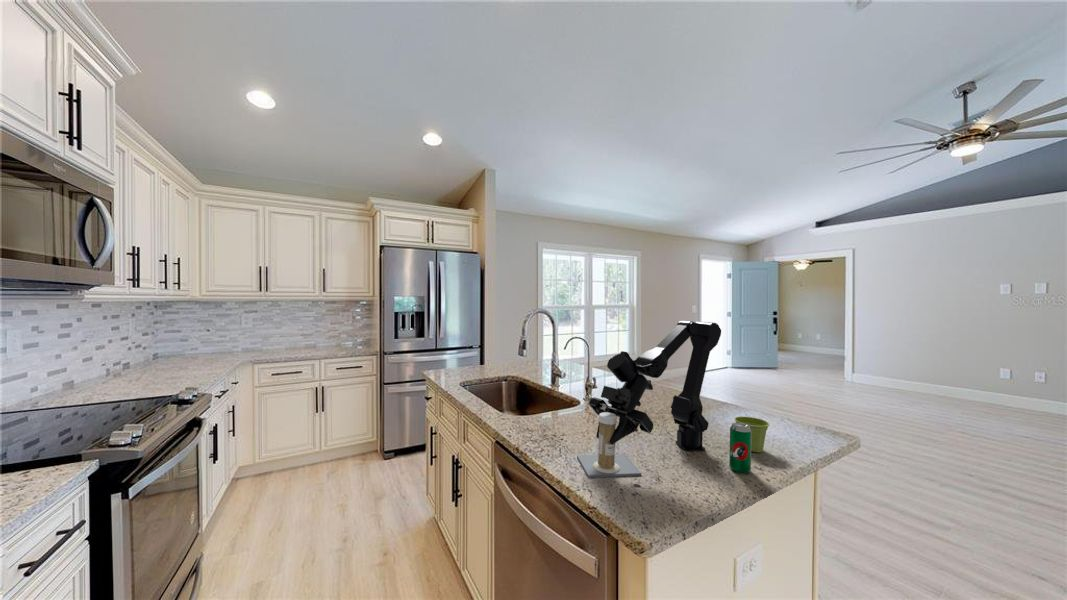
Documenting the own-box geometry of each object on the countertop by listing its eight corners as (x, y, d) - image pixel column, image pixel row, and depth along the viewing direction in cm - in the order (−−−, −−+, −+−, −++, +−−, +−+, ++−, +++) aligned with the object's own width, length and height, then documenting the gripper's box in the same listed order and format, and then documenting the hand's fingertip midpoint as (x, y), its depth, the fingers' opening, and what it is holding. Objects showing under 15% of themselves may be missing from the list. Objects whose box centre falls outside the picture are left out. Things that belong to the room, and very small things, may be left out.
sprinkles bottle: (613, 470, 95) (615, 418, 95) (595, 466, 97) (597, 415, 96) (616, 462, 100) (617, 413, 99) (599, 459, 101) (601, 410, 101)
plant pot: (726, 445, 116) (727, 417, 116) (747, 441, 120) (748, 414, 120) (754, 457, 108) (755, 427, 108) (776, 452, 111) (776, 423, 111)
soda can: (755, 473, 97) (756, 428, 97) (738, 474, 96) (739, 429, 96) (741, 465, 102) (742, 421, 102) (724, 466, 101) (725, 422, 101)
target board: (624, 455, 107) (624, 452, 107) (641, 475, 95) (641, 472, 95) (577, 457, 105) (577, 454, 105) (588, 477, 93) (588, 474, 93)
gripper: (593, 369, 108) (564, 413, 101) (647, 381, 93) (617, 434, 86) (611, 392, 113) (584, 436, 106) (665, 407, 98) (638, 459, 91)
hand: (603, 440), depth 97 cm, fingers closed on sprinkles bottle, 4 cm apart
